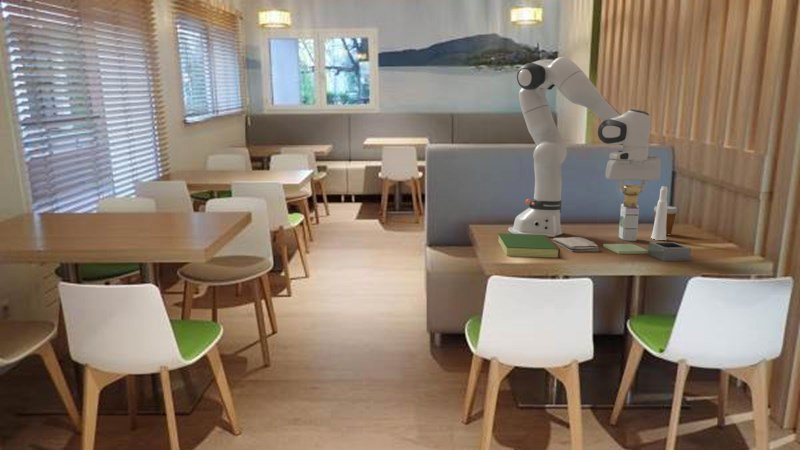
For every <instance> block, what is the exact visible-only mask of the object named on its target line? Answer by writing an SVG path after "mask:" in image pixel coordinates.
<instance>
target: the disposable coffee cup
mask: <svg viewBox="0 0 800 450" xmlns="http://www.w3.org/2000/svg"><path fill="white" fill-rule="evenodd" d="M656 210H657V205H654V208H653V212H654V218H655V216H656ZM677 212H678V209H677V207H675V206H672V205H667V219H666V235H668V234H672V231H673V226H674V223H675V219H676V215H677Z"/></svg>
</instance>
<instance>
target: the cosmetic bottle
mask: <svg viewBox="0 0 800 450" xmlns="http://www.w3.org/2000/svg"><path fill="white" fill-rule="evenodd" d="M668 191H669V189H668V186H663V185H662V186H661V187H660V189H659V199H658V200H657V205H656V206H657V210H656V216H655V217H654V223H653V228H652V232H651V236H650V239H651V238H652V239H651V240H653V239H655V240H654V241H658V240H665V241H667V239H668V238H667V236H666V219H667V206H668V200H667V199H668Z"/></svg>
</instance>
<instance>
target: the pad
mask: <svg viewBox="0 0 800 450" xmlns="http://www.w3.org/2000/svg"><path fill="white" fill-rule="evenodd" d="M602 245H603V246H602V247H603V248H605V249H607V250H610V251H612V252H614V253H616V254H618V255H621V254H622V255H630V254H632V255H633V254H634V255H635V254H639V255H640V254H641V255H643V254H645V255H646V254H647V255H649V254H648V249H645V248H643V247H640V246H639V245H636V244H633V243H603V244H602Z"/></svg>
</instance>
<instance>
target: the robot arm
mask: <svg viewBox="0 0 800 450" xmlns="http://www.w3.org/2000/svg"><path fill="white" fill-rule="evenodd" d="M516 81H517V84H518V86H520V90H519V92H518V98H519V104H520V105H519V106H520V109H521V110H520V111H521V113H522V115H523V119H524V121H525V124H526V128H527V130H528V133H529V134H530V136H531V138H532V140H533V142H534V143H535V146H536V147H535V148H534V150H533V152H532V153H533V154H532V156H533V170H534V192H533V199H525V204H526V205H528V208H526V209H525V210H524V211H522V212H520V213H519V214H518V215H516V217H515V219H514V222H513V226H509V227H508V229H507V231H508V232H509V233H510V234H532V235H547V236H548V237H549V238H550V237H551V238H556V237H557V236H560V235H562V234H563V232H562V231H563V230H562V225H561V212H562V200H561V197H562V187H563V180H562V164H563V163H564V162H565V160H566V158H567V154H568V151H567V150H568V149H567V147H566V145H565V142H564V140H563V138H562V135H561V134H560V131H559V129H558V127H557V125H556V123H555V120H554V118H553V114H552V111H551V109H550V105H549V102H548V100H547V96H546V93H547V90H548V91H550V90H552V89H553V88H554V87H555V88H556V89H557V90H558V91H559V92H560V93H561V95H562V96H563V97H564V98H565V99H567V100H568V101H570V103H572V104H575V105H578V106H582V107H583V108H586V109H589V110H591V111H592V112H593V113H594V114H595V115H596V116H597V117H598V118H599V119H600V120H601V121H602V122H601V123H600V124H599V125H598V129H597V136H598V138H599V141H601V142H602V143H604V144H606V145H620V146H622V149H618V150H615V151H612V152H610V153H609V155H608V158H609V159H608V161H607V163H606V167H605V172H604V173H605V174H604V175H605V178H606V180H609V181H616V183H617V185H618V187H619V188H618V192H620V193H623V192H625V187H623V185H624V184H623V183H624V181H640V183H641V185H640V186H641V189H640V193H644V191H645V188H646V187H647V185H648V183H649V181H659V180H660V178H661V173H662V171H661V163H662V159H661V157H660V156H658V154H649V148H650V145H649V139H650V136H651V126H652V125H651V123H652V122H651V116H650V114H649V113H648V112H647V111H645V110H640V109H628V110H627V111H626V112H623V114H620V113H619V111H618V110H616V108H615V107H613V105H612V104H611V103H610V102H609V101H608V100H607V99H606V98H605V97H604V96H603V95H602V94H601V92H600V91H599V90H598V88H596V86H595V84H594V83H593V82H591V81H592V80H590V79H589V77H588V76H587V74H586V73H585V72H584V71H583V70H582V69H581V68H580V67H579V66H578V65H577V64H576V63H575V62H574V61H573V60H572V59H570V58H569V57H567V56H560V57H557V58H549V59H538V60H536V61H532V62H527V63H525V64H523V65H522V66H520V68H519V69H518V71H517V73H516Z"/></svg>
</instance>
